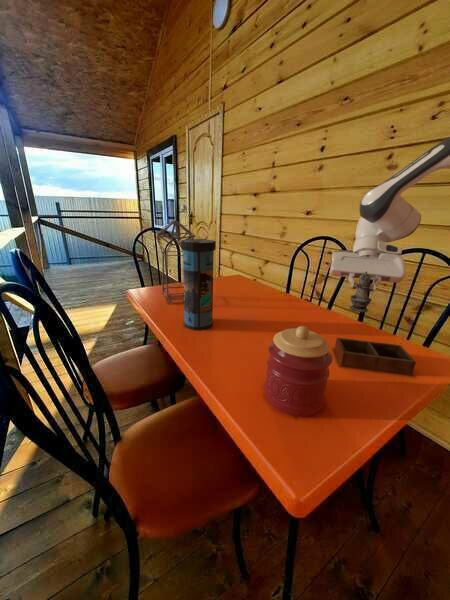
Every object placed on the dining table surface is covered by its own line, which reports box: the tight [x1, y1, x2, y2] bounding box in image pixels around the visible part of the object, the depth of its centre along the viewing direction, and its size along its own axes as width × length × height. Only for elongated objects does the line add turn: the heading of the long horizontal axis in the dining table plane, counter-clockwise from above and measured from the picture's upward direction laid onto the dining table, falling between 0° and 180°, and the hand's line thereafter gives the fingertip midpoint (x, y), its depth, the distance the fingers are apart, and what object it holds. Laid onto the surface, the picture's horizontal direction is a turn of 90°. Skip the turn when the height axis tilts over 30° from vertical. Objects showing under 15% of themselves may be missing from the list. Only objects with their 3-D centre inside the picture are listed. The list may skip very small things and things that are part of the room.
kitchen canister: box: [264, 325, 333, 418], centre depth 55 cm, size 13×13×18 cm
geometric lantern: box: [155, 220, 197, 305], centre depth 110 cm, size 16×16×35 cm
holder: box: [333, 337, 417, 377], centre depth 71 cm, size 17×9×5 cm, turn 78°
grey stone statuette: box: [348, 271, 372, 313], centre depth 77 cm, size 6×6×12 cm
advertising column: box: [180, 238, 217, 331], centre depth 87 cm, size 11×11×30 cm
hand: (362, 289), depth 76 cm, fingers closed on grey stone statuette, 3 cm apart
